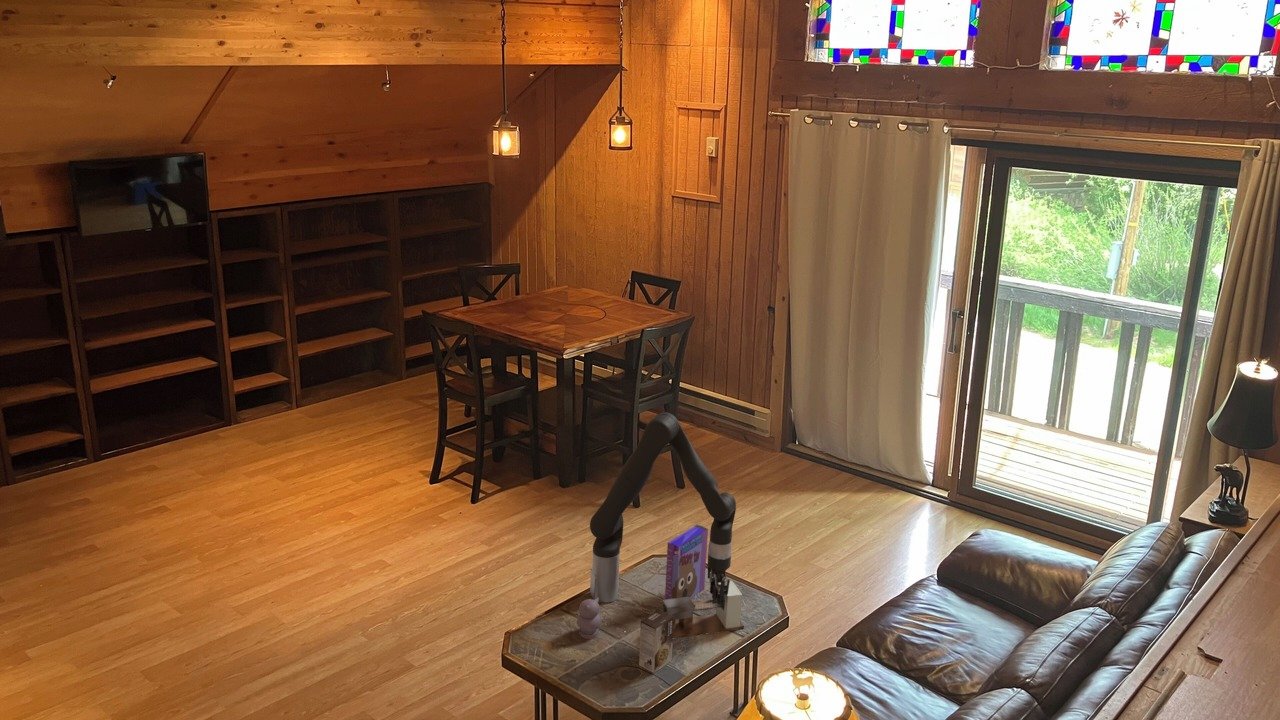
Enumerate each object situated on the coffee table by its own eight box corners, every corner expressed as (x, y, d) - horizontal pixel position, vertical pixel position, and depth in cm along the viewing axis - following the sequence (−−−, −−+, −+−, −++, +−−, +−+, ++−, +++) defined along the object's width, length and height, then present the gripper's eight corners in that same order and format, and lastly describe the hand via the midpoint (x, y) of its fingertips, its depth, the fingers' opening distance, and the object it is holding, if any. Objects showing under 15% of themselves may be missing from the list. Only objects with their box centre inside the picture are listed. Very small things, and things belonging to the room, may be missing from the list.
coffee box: (656, 652, 316) (658, 608, 311) (672, 661, 312) (674, 615, 307) (638, 665, 309) (639, 619, 304) (654, 673, 305) (656, 627, 301)
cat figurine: (586, 623, 331) (587, 591, 327) (606, 630, 327) (607, 598, 323) (571, 635, 324) (572, 603, 320) (591, 643, 320) (592, 610, 316)
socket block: (725, 628, 329) (727, 596, 325) (715, 614, 337) (718, 582, 334) (739, 626, 330) (742, 594, 327) (729, 612, 339) (731, 580, 335)
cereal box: (675, 609, 341) (679, 546, 334) (664, 604, 344) (667, 542, 336) (704, 589, 354) (708, 528, 347) (693, 584, 357) (696, 524, 350)
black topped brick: (686, 614, 326) (687, 593, 324) (683, 609, 329) (684, 588, 327) (731, 608, 331) (733, 587, 328) (728, 603, 334) (729, 582, 331)
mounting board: (666, 639, 323) (668, 611, 320) (658, 624, 332) (659, 596, 328) (743, 628, 331) (745, 600, 328) (733, 614, 339) (735, 587, 336)
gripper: (701, 543, 330) (698, 588, 335) (716, 564, 317) (713, 611, 322) (722, 541, 332) (719, 585, 337) (738, 561, 319) (735, 608, 324)
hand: (716, 598), depth 330 cm, fingers open, 6 cm apart
